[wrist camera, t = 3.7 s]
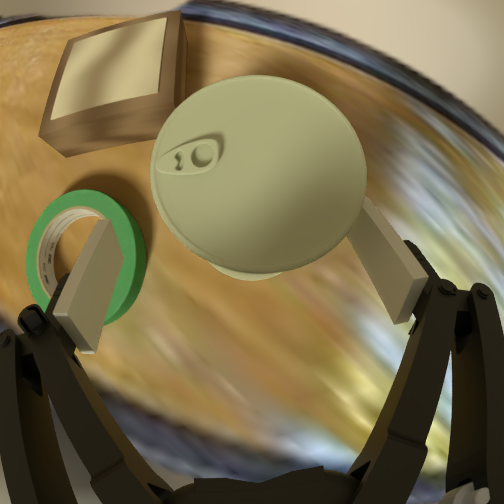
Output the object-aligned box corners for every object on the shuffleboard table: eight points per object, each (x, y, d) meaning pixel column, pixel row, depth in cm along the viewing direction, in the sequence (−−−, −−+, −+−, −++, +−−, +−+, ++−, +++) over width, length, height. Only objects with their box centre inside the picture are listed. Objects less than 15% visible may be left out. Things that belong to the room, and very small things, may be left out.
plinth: (187, 43, 25) (180, 8, 20) (185, 134, 24) (173, 101, 18) (85, 66, 24) (67, 39, 19) (65, 157, 23) (37, 134, 18)
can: (191, 168, 23) (154, 75, 11) (304, 163, 24) (350, 71, 12) (194, 283, 22) (143, 280, 10) (315, 276, 23) (388, 265, 11)
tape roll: (52, 196, 23) (37, 187, 20) (156, 200, 23) (146, 190, 21) (37, 313, 22) (20, 315, 19) (141, 337, 22) (129, 342, 19)
